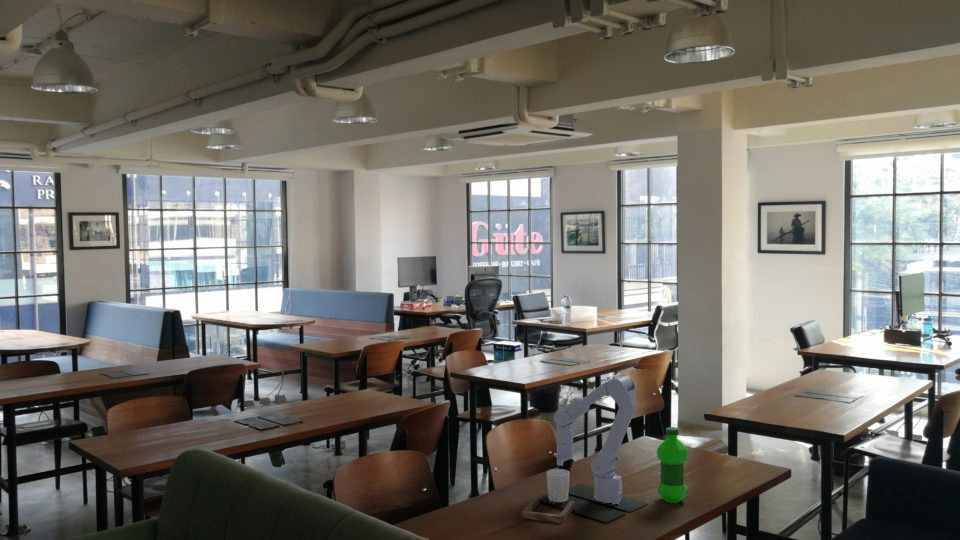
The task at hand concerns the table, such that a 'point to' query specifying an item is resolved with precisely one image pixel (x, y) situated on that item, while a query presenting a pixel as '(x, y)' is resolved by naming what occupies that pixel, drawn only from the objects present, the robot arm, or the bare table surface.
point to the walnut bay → (560, 518)
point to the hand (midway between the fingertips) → (565, 480)
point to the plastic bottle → (672, 467)
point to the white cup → (558, 485)
